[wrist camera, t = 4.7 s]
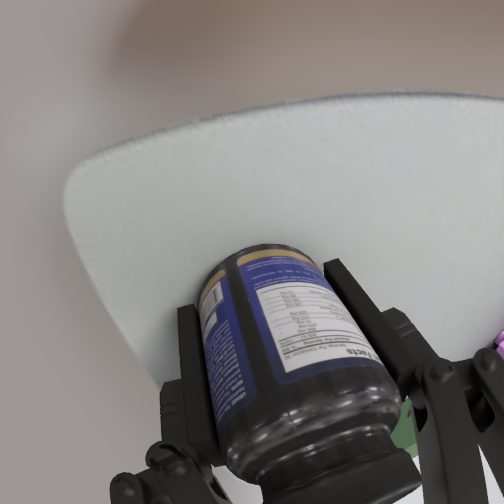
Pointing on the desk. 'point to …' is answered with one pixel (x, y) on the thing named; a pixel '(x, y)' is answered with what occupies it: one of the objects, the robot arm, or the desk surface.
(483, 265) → the desk surface
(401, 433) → the block
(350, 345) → the pill bottle
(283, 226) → the desk surface
